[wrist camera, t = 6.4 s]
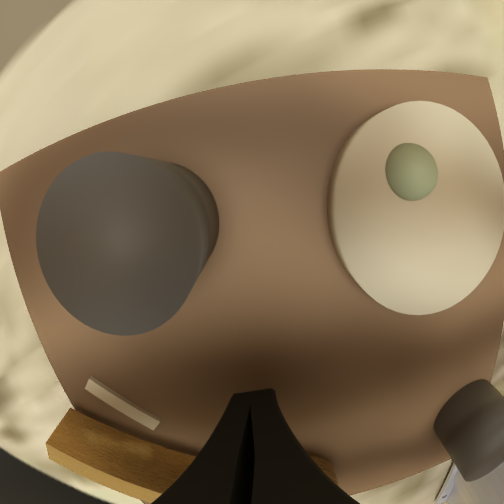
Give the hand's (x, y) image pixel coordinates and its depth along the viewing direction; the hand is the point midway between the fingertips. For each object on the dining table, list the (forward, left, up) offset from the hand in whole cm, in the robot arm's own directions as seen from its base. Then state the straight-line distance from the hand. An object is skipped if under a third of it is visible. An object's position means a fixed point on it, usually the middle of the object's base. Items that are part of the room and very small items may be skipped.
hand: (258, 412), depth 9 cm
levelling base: (+1, -1, -2) cm, 3 cm away
